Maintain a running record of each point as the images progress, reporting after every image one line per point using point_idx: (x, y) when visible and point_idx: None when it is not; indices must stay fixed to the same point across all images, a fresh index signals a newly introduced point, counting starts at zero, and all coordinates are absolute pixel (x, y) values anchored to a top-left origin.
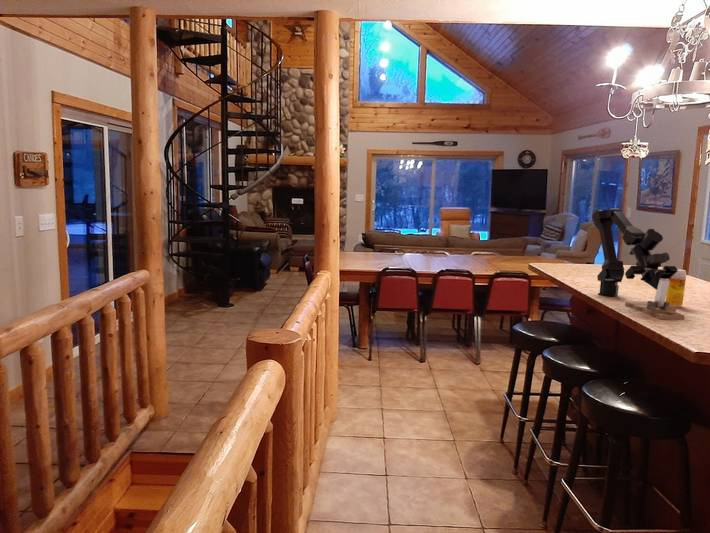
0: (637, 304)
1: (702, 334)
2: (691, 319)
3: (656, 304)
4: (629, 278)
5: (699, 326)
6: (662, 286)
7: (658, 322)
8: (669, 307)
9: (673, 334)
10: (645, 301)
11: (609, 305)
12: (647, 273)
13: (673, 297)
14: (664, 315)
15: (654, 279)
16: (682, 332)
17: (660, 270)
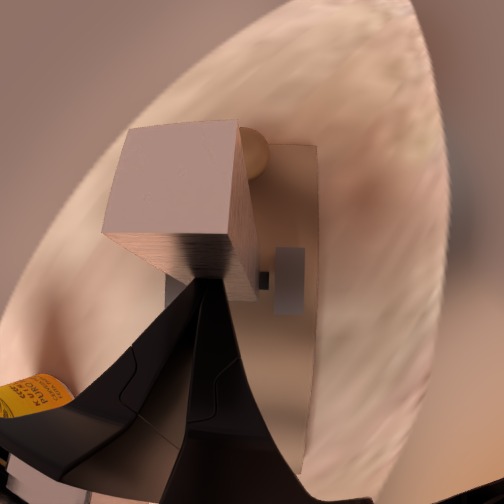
0: (280, 412)
1: (290, 3)
2: None
3: (259, 267)
4: (442, 500)
5: (215, 61)
6: (246, 177)
7: (361, 115)
8: (260, 138)
9: (385, 17)
10: None
11: (384, 453)
12: (360, 498)
13: (43, 402)
14: (300, 145)
15: (226, 389)
16: (344, 20)
17: (10, 502)
